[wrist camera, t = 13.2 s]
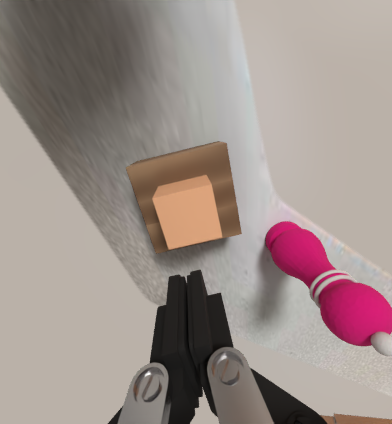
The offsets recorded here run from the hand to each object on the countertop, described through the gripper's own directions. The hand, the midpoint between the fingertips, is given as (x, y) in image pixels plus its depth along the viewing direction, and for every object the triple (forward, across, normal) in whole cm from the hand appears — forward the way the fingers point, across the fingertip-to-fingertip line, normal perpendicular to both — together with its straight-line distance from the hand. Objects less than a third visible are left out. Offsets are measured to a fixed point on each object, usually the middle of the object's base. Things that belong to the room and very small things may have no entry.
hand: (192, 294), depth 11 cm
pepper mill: (+22, -14, +13) cm, 29 cm away
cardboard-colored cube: (+16, 0, +1) cm, 16 cm away
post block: (+22, 0, +1) cm, 22 cm away
